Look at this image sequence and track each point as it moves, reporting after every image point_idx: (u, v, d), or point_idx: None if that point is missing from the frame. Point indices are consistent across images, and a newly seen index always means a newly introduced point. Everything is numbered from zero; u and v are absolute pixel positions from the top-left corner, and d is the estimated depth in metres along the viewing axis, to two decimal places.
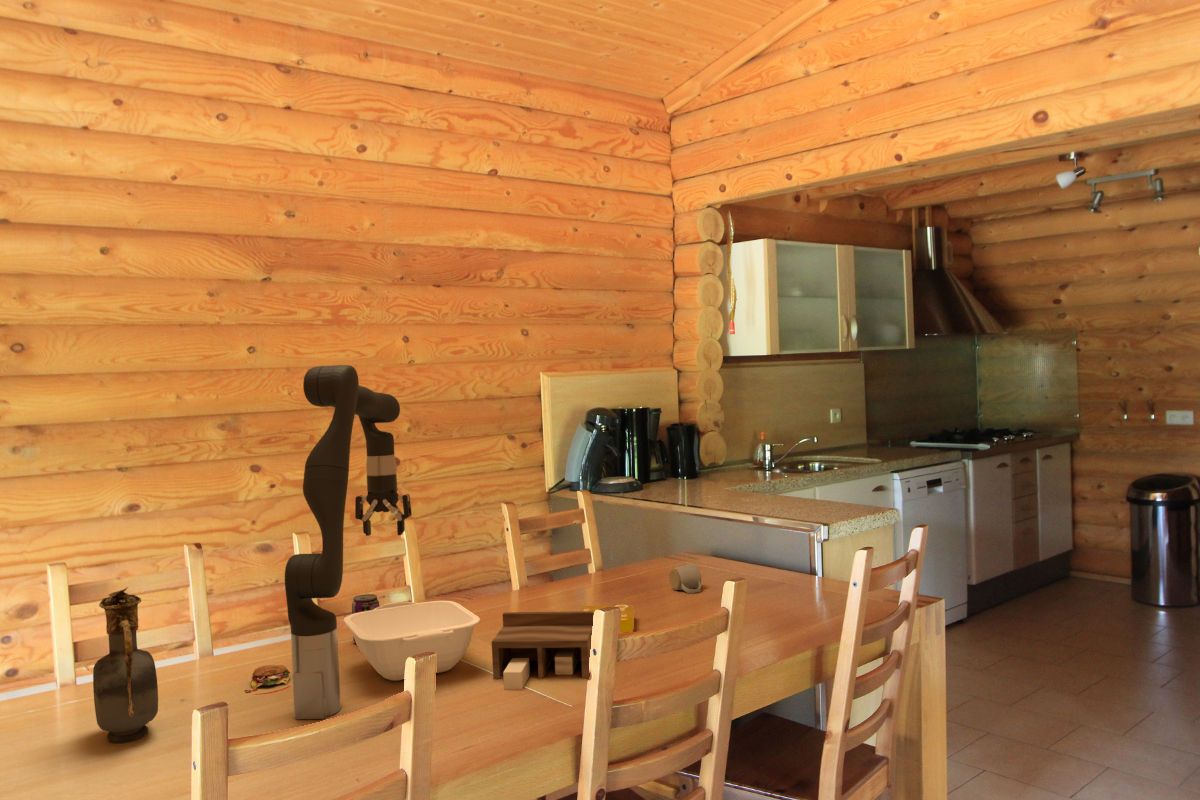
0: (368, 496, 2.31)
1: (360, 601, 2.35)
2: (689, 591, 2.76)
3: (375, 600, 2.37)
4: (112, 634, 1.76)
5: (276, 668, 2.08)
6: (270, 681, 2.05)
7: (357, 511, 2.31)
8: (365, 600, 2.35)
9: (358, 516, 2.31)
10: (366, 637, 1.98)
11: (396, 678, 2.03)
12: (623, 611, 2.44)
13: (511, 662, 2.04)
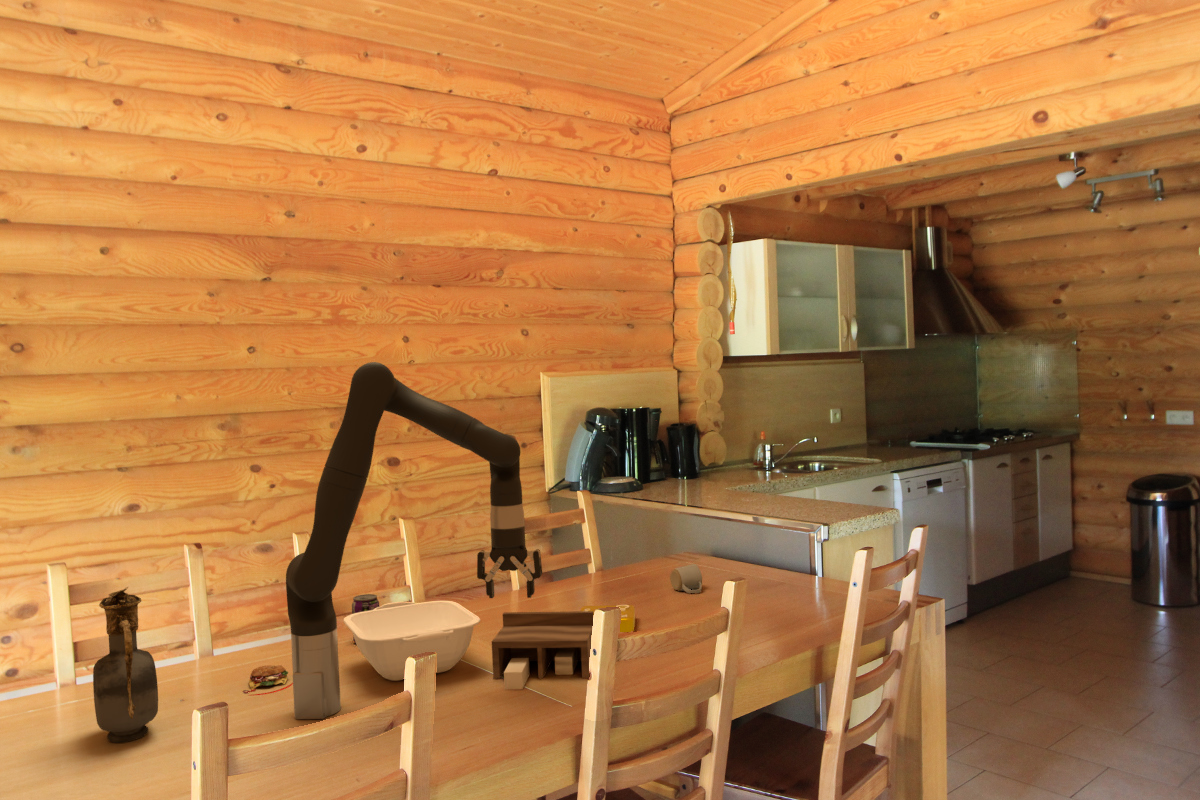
0: (492, 552, 1.97)
1: (360, 601, 2.35)
2: (690, 591, 2.76)
3: (375, 600, 2.37)
4: (112, 634, 1.76)
5: (274, 668, 2.07)
6: (268, 682, 2.04)
7: (480, 570, 1.98)
8: (365, 600, 2.35)
9: (480, 575, 1.98)
10: (366, 637, 1.98)
11: (396, 678, 2.03)
12: (624, 611, 2.44)
13: (511, 662, 2.04)
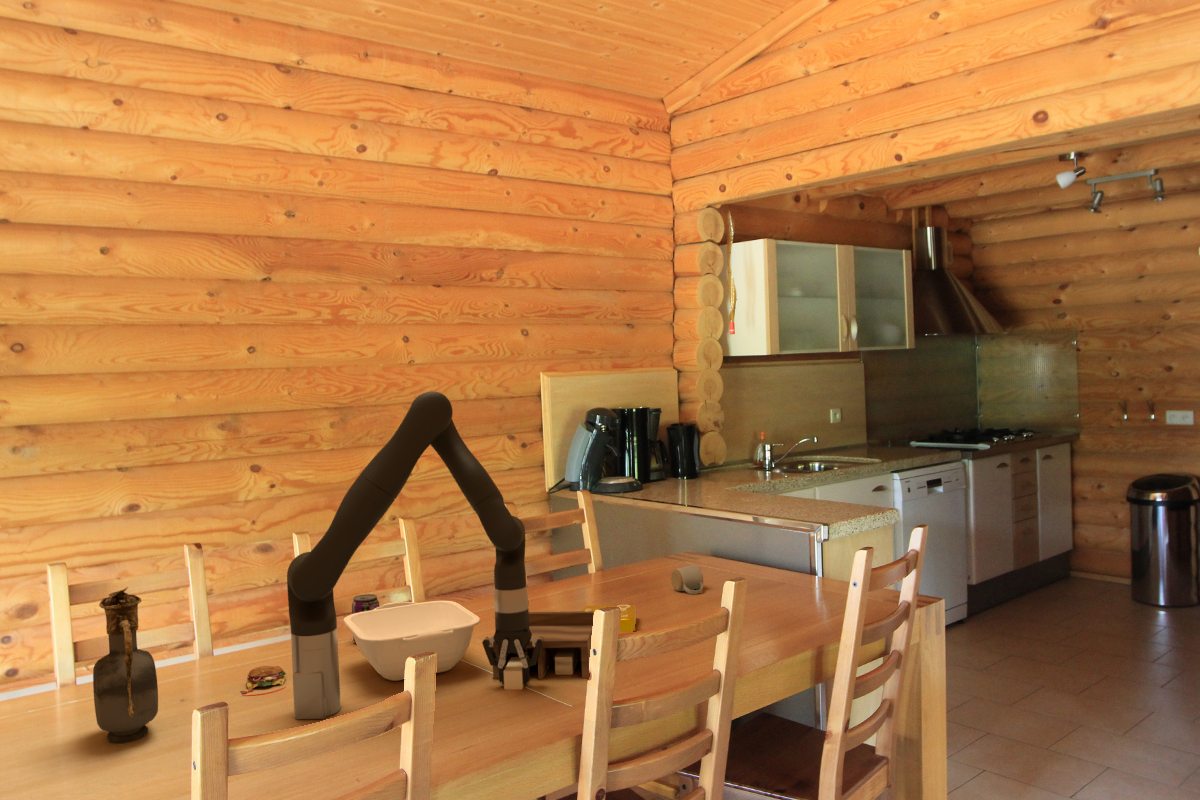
0: (495, 635, 1.98)
1: (360, 601, 2.35)
2: (691, 592, 2.75)
3: (375, 600, 2.37)
4: (112, 634, 1.76)
5: (272, 669, 2.07)
6: (265, 682, 2.04)
7: (490, 657, 1.98)
8: (365, 600, 2.35)
9: (493, 662, 1.98)
10: (366, 637, 1.98)
11: (396, 678, 2.03)
12: (625, 611, 2.44)
13: (510, 661, 2.04)
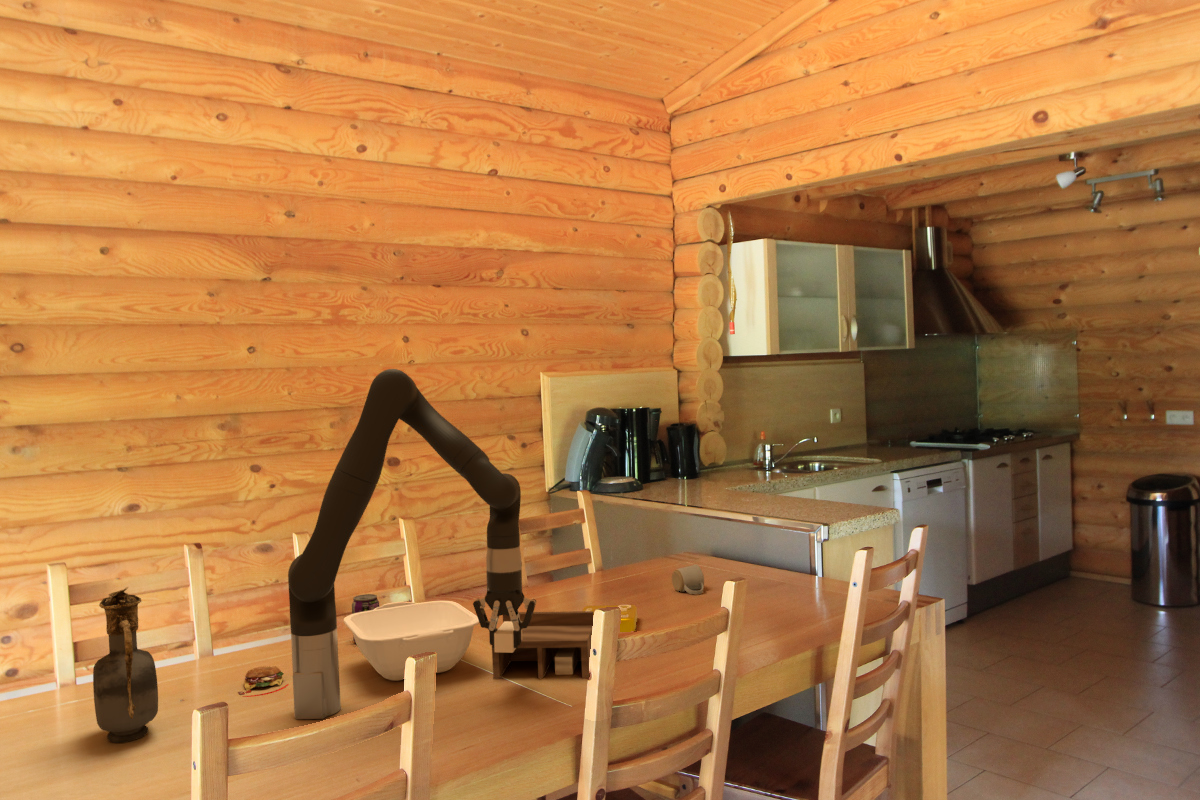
0: (487, 596, 1.91)
1: (360, 601, 2.35)
2: (692, 592, 2.74)
3: (375, 600, 2.37)
4: (112, 634, 1.76)
5: (269, 669, 2.07)
6: (263, 683, 2.04)
7: (481, 618, 1.91)
8: (365, 600, 2.35)
9: (484, 624, 1.91)
10: (366, 637, 1.98)
11: (396, 678, 2.03)
12: (625, 611, 2.43)
13: (503, 625, 1.97)
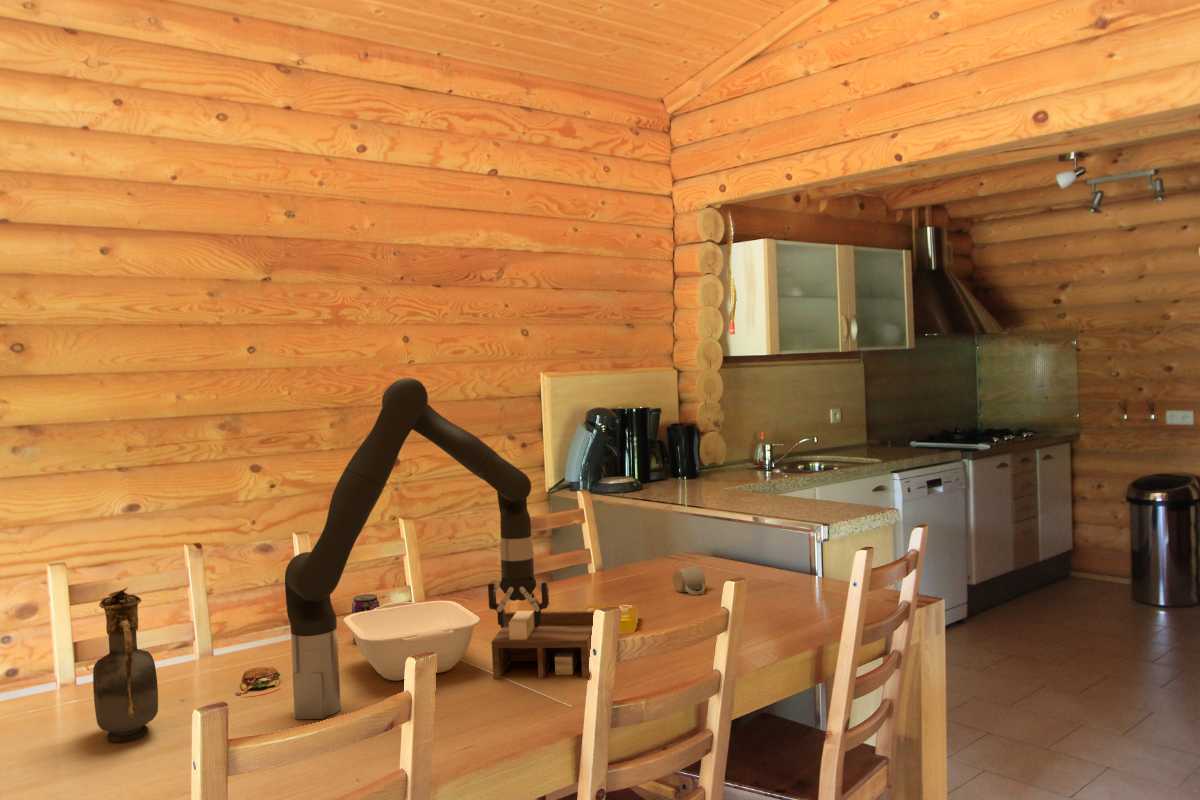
0: (502, 583, 2.06)
1: (360, 601, 2.35)
2: (693, 593, 2.74)
3: (375, 600, 2.37)
4: (112, 634, 1.76)
5: (266, 670, 2.06)
6: (260, 684, 2.03)
7: (491, 600, 2.06)
8: (365, 600, 2.35)
9: (492, 606, 2.06)
10: (366, 637, 1.98)
11: (396, 678, 2.03)
12: (626, 611, 2.43)
13: (516, 614, 2.12)
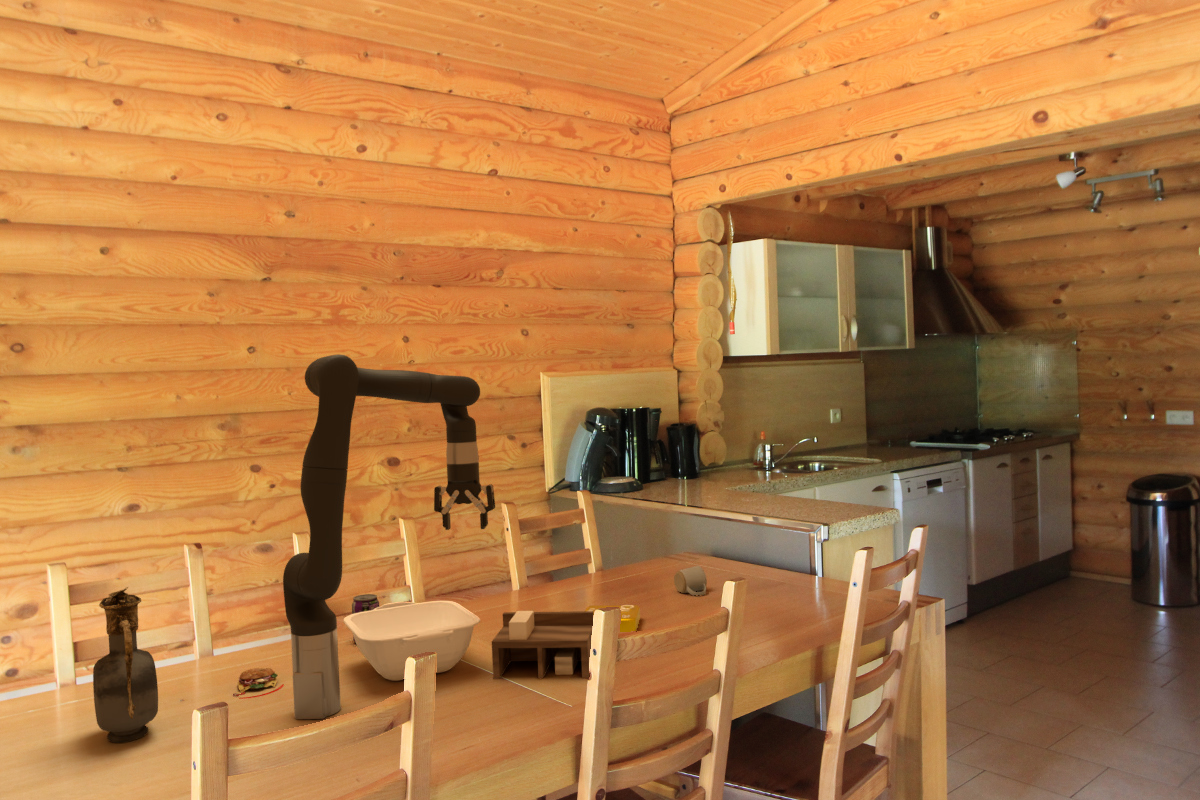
0: (448, 486, 2.11)
1: (360, 601, 2.35)
2: (695, 594, 2.73)
3: (375, 600, 2.37)
4: (112, 634, 1.76)
5: (264, 671, 2.06)
6: (258, 684, 2.03)
7: (437, 503, 2.12)
8: (365, 600, 2.35)
9: (437, 508, 2.12)
10: (366, 637, 1.98)
11: (396, 678, 2.03)
12: (628, 611, 2.43)
13: (516, 614, 2.12)
